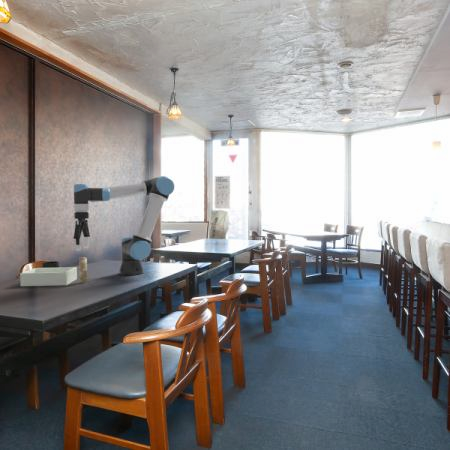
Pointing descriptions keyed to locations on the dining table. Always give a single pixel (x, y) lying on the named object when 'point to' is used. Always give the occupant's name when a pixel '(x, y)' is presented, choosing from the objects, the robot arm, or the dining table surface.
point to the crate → (48, 276)
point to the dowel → (83, 269)
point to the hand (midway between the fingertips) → (82, 249)
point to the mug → (50, 264)
